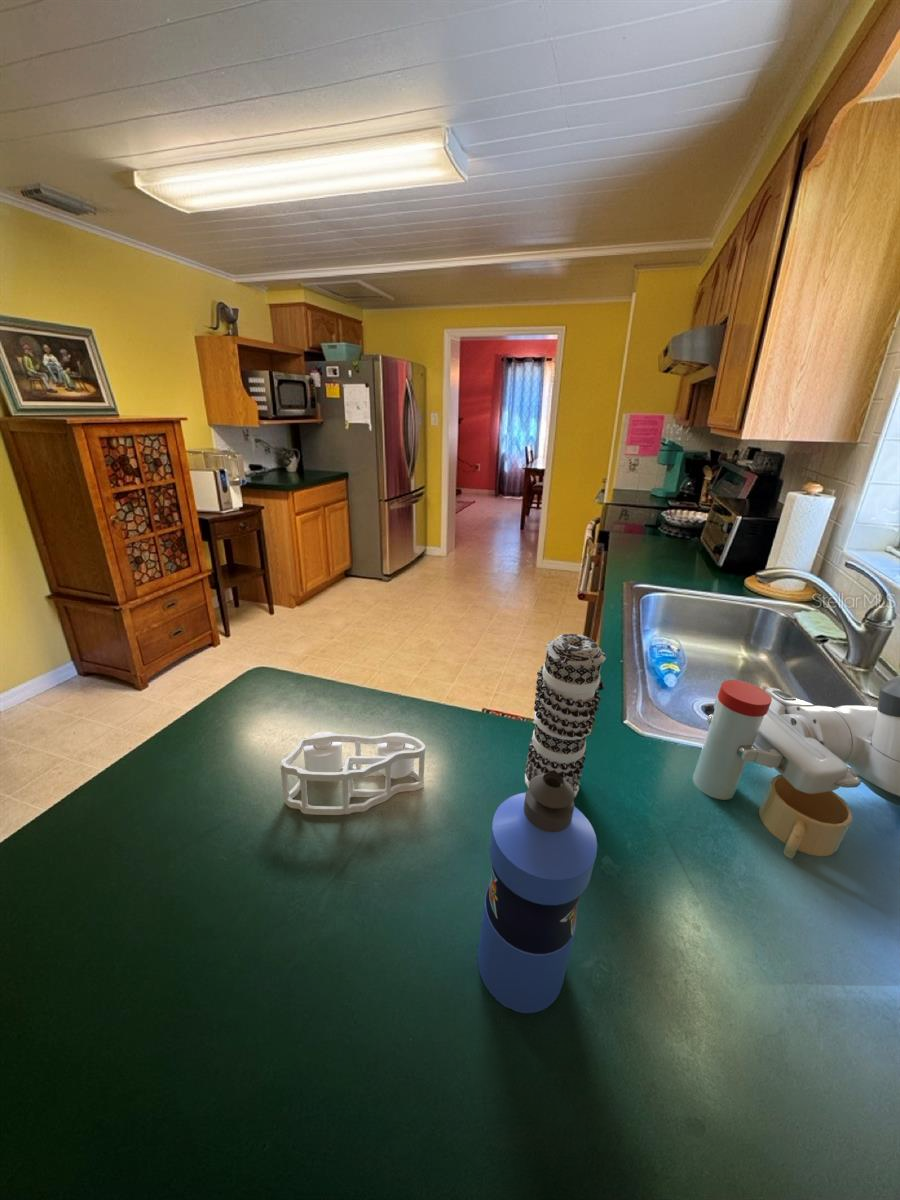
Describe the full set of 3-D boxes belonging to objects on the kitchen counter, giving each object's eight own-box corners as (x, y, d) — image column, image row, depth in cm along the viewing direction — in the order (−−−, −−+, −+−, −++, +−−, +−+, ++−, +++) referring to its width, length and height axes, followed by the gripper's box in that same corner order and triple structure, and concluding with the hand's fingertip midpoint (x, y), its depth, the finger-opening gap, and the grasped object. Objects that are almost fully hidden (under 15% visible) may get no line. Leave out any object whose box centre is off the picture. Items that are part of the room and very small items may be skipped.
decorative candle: (540, 753, 80) (562, 620, 70) (591, 782, 75) (622, 642, 65) (510, 781, 74) (530, 640, 64) (563, 815, 68) (593, 665, 58)
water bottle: (467, 996, 47) (489, 807, 37) (485, 907, 55) (507, 734, 45) (562, 1029, 45) (612, 838, 35) (567, 932, 53) (608, 756, 43)
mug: (766, 794, 74) (778, 764, 72) (840, 831, 68) (856, 799, 66) (745, 841, 66) (758, 809, 63) (827, 887, 60) (845, 854, 57)
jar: (720, 773, 78) (754, 680, 71) (743, 803, 72) (782, 705, 65) (683, 772, 78) (712, 679, 71) (703, 802, 72) (737, 704, 65)
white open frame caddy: (424, 761, 77) (425, 724, 74) (423, 815, 67) (425, 775, 64) (299, 759, 76) (296, 722, 73) (279, 815, 65) (275, 774, 63)
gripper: (860, 803, 64) (767, 806, 63) (756, 712, 83) (682, 713, 81) (879, 767, 62) (783, 769, 60) (767, 682, 81) (692, 682, 79)
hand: (724, 736), depth 71 cm, fingers closed on jar, 6 cm apart
